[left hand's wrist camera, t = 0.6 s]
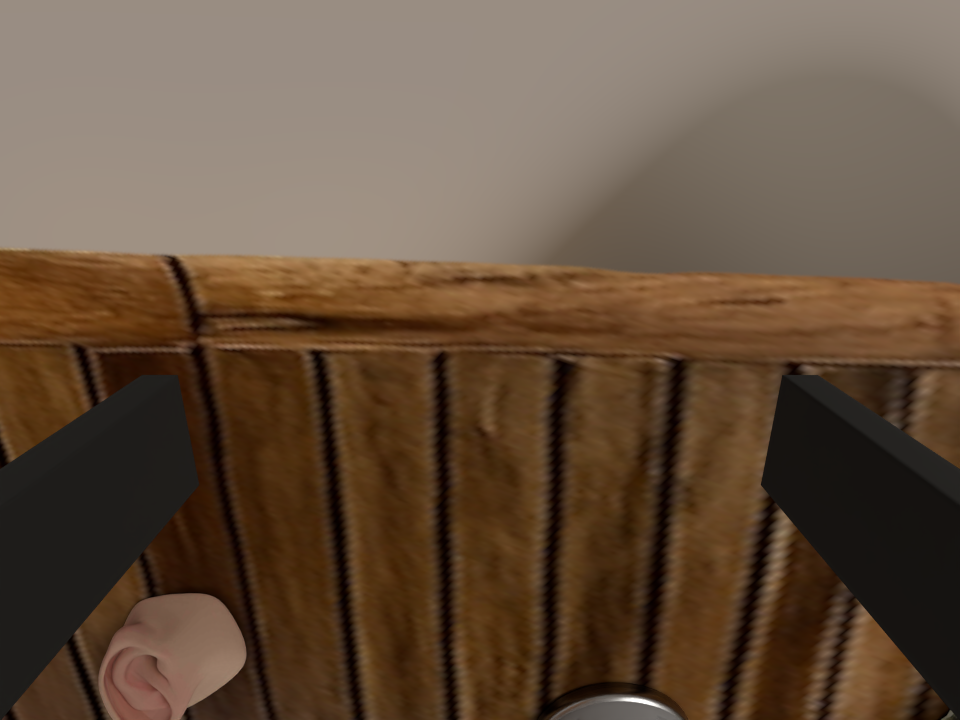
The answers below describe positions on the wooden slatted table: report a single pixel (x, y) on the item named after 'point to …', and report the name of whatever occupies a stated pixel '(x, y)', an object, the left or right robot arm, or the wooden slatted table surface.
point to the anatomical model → (170, 657)
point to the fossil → (950, 716)
